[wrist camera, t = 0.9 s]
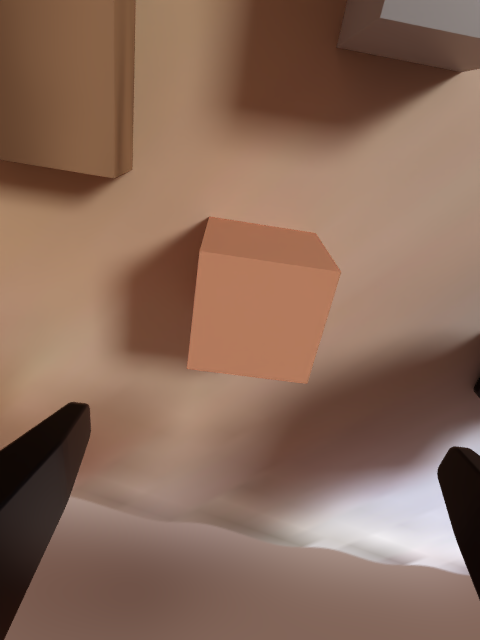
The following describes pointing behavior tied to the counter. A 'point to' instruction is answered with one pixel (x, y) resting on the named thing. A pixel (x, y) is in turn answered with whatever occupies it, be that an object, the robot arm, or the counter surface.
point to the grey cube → (415, 31)
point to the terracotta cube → (260, 301)
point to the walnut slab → (68, 84)
